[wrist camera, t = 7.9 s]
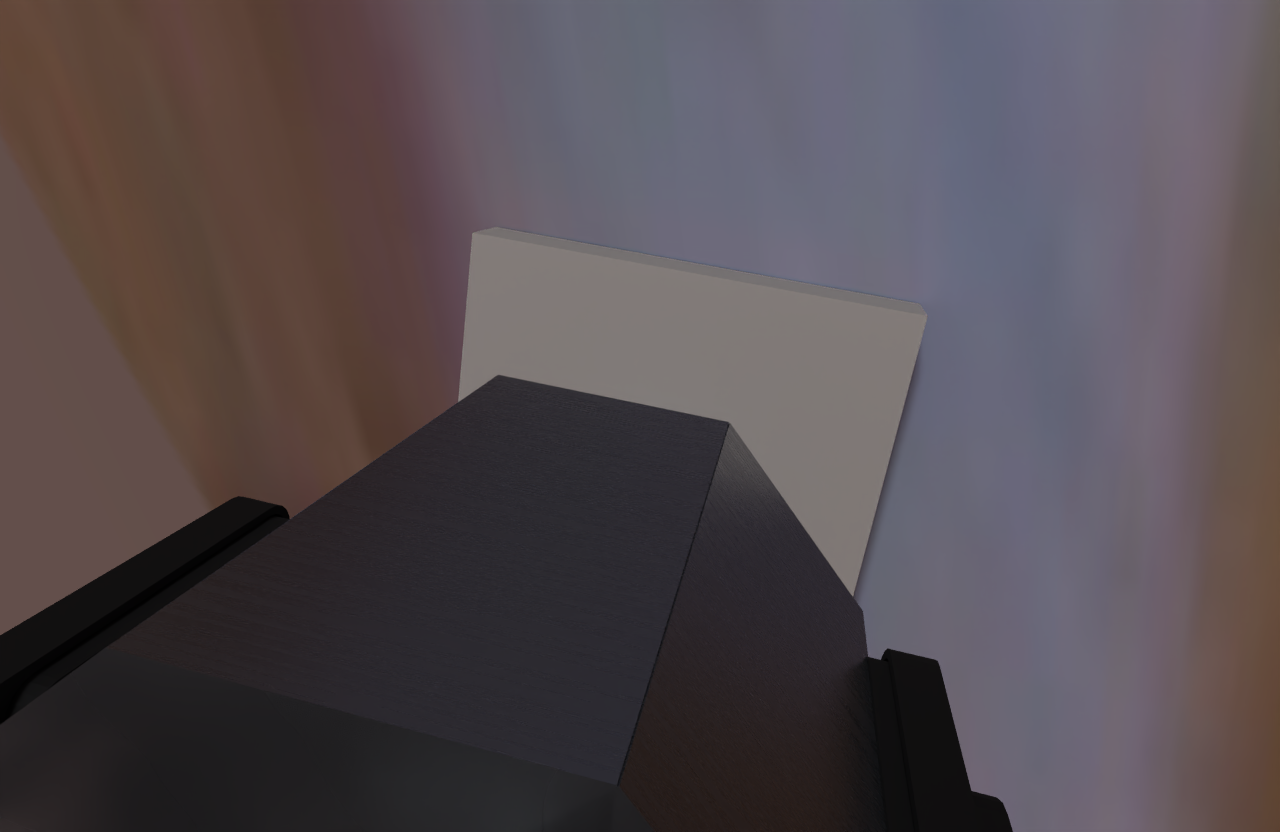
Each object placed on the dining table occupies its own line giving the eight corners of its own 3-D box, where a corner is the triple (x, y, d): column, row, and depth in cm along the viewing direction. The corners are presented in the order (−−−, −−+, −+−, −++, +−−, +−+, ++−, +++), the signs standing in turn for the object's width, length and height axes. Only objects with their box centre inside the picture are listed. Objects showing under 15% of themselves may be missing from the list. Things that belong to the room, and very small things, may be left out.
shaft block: (919, 303, 15) (1003, 427, 8) (821, 677, 18) (824, 1000, 11) (496, 227, 16) (269, 280, 9) (462, 588, 19) (265, 833, 12)
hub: (905, 457, 9) (1042, 900, 4) (781, 912, 12) (754, 1625, 6) (344, 343, 10) (-210, 563, 5) (326, 784, 13) (-70, 1296, 7)
